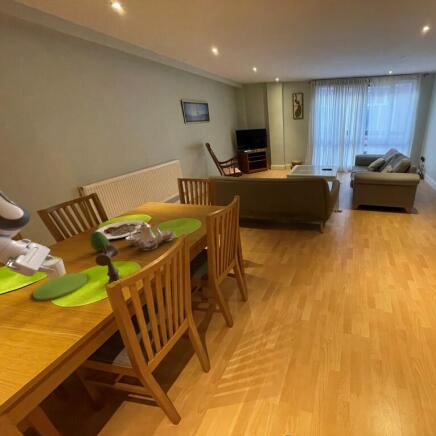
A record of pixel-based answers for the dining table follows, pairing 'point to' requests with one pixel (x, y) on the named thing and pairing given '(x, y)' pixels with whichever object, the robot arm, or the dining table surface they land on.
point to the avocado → (98, 241)
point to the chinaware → (149, 237)
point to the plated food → (120, 229)
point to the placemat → (60, 286)
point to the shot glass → (55, 268)
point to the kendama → (109, 261)
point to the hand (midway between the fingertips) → (55, 266)
